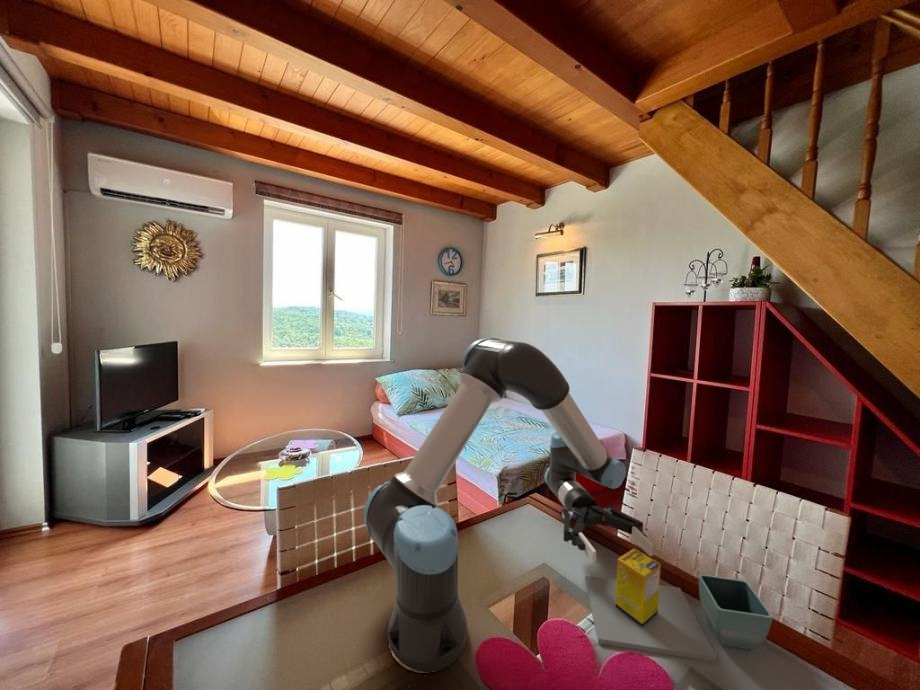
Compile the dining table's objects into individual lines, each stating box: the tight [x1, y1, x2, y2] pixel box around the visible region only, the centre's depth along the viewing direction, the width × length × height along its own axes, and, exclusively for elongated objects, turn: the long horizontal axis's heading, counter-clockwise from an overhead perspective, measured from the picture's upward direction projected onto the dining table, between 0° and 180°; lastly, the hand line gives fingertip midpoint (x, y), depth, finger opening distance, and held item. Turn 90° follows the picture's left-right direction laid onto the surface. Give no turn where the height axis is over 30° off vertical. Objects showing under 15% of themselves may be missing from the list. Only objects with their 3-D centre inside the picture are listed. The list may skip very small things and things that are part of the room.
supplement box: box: [616, 548, 662, 627], centre depth 74 cm, size 6×6×11 cm
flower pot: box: [698, 574, 774, 650], centre depth 69 cm, size 9×9×9 cm
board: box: [584, 575, 717, 663], centre depth 74 cm, size 20×16×1 cm
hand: (623, 553), depth 79 cm, fingers open, 13 cm apart
